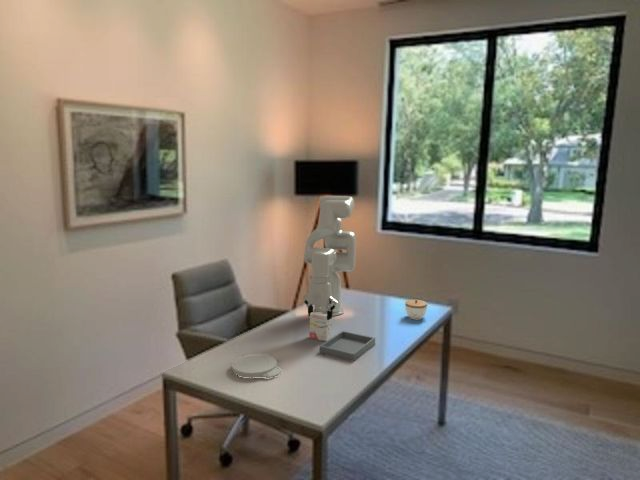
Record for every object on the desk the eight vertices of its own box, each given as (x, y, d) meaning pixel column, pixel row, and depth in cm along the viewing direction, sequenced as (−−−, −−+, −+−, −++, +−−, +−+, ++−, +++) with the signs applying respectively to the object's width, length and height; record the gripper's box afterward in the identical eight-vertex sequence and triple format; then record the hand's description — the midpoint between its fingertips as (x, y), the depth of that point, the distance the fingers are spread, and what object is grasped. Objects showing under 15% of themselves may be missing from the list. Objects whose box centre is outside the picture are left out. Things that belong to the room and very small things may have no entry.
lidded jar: (429, 316, 244) (430, 298, 242) (421, 322, 235) (422, 304, 233) (409, 312, 250) (410, 295, 248) (401, 318, 241) (402, 300, 239)
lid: (263, 386, 172) (263, 379, 171) (221, 373, 182) (221, 365, 181) (291, 368, 186) (291, 361, 185) (251, 356, 196) (251, 349, 196)
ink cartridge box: (309, 338, 215) (309, 306, 212) (313, 334, 220) (314, 303, 217) (326, 341, 212) (326, 309, 209) (331, 337, 216) (331, 306, 213)
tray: (319, 352, 200) (319, 345, 199) (342, 337, 217) (342, 330, 216) (353, 361, 192) (354, 354, 191) (375, 344, 209) (375, 337, 208)
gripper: (299, 278, 212) (299, 316, 215) (333, 284, 203) (332, 323, 206) (308, 275, 218) (308, 311, 221) (341, 280, 209) (341, 318, 212)
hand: (320, 317), depth 213 cm, fingers open, 9 cm apart
